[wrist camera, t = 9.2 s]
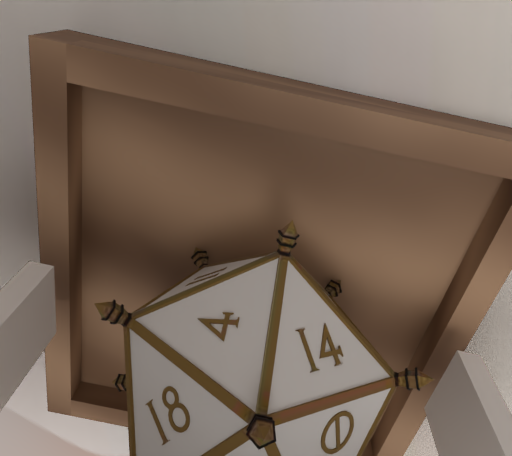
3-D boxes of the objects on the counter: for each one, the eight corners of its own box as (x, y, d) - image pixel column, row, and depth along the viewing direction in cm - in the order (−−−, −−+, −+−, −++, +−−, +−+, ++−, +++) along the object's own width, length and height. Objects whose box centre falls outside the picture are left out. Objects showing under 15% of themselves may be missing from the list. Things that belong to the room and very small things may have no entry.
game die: (256, 205, 18) (291, 107, 9) (393, 360, 18) (599, 445, 8) (86, 350, 17) (-105, 433, 7) (227, 522, 17) (229, 863, 7)
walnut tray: (67, 29, 13) (28, 35, 11) (537, 133, 14) (577, 156, 12) (71, 371, 20) (47, 411, 19) (380, 434, 21) (389, 479, 19)
